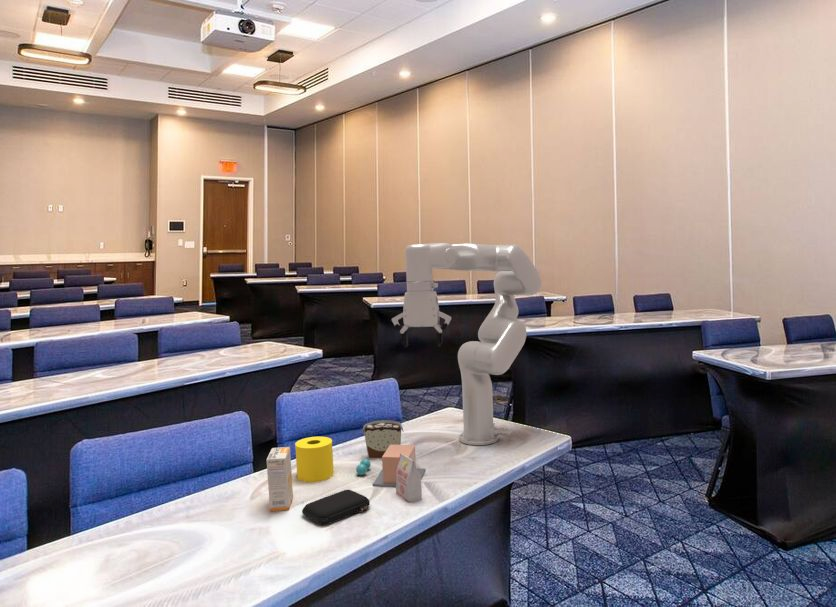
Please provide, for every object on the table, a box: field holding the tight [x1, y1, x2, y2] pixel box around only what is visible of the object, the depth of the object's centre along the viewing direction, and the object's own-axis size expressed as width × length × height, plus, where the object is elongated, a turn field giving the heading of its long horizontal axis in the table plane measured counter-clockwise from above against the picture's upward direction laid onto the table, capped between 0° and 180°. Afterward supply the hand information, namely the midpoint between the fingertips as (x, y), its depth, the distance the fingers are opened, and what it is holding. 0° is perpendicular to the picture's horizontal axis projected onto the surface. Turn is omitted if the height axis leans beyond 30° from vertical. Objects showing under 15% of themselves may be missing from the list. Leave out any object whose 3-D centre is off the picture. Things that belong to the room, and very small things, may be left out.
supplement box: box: [265, 446, 294, 512], centre depth 145 cm, size 8×5×13 cm, turn 5°
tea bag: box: [395, 454, 423, 503], centre depth 147 cm, size 4×7×10 cm, turn 28°
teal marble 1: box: [359, 458, 371, 470], centre depth 166 cm, size 3×3×3 cm
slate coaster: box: [372, 467, 426, 488], centre depth 159 cm, size 12×12×1 cm
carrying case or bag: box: [301, 489, 371, 526], centre depth 139 cm, size 11×3×15 cm
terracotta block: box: [381, 444, 417, 483], centre depth 159 cm, size 7×10×7 cm
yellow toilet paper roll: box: [294, 436, 335, 483], centre depth 163 cm, size 10×10×9 cm
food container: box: [361, 419, 404, 460], centre depth 177 cm, size 12×6×10 cm, turn 84°
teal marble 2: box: [355, 463, 368, 476], centre depth 162 cm, size 3×3×3 cm
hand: (422, 346), depth 171 cm, fingers open, 9 cm apart
